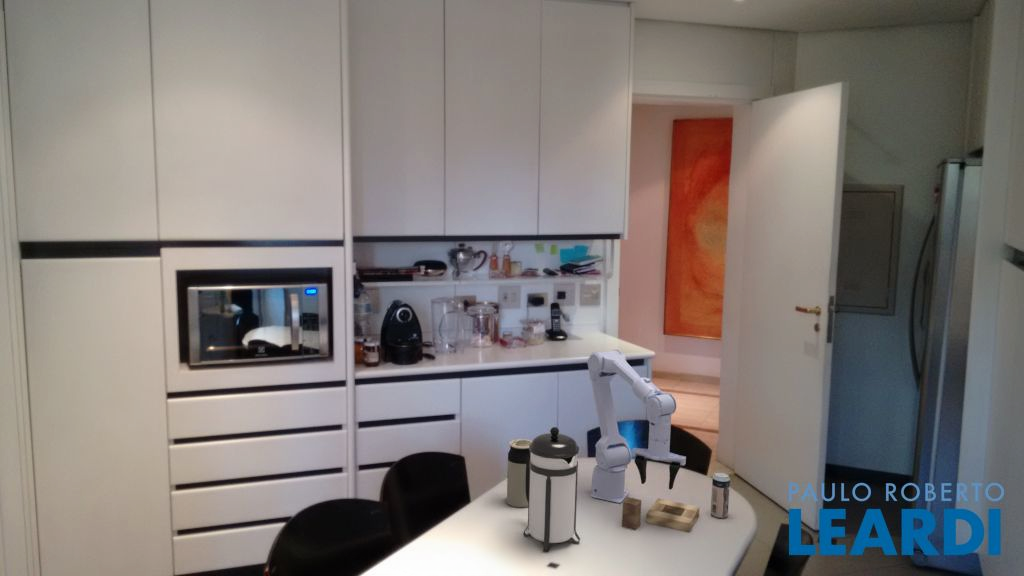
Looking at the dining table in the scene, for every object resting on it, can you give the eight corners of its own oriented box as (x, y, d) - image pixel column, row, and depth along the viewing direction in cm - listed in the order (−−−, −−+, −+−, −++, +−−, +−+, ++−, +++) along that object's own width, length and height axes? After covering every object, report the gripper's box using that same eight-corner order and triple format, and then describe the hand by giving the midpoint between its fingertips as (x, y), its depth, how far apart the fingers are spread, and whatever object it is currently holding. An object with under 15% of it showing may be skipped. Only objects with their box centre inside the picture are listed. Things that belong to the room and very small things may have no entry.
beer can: (728, 519, 191) (731, 478, 190) (711, 518, 192) (713, 477, 190) (726, 512, 195) (729, 472, 194) (709, 511, 196) (711, 470, 195)
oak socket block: (645, 522, 188) (646, 513, 188) (657, 506, 199) (657, 498, 198) (689, 532, 183) (689, 523, 182) (699, 515, 193) (699, 507, 193)
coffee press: (586, 530, 182) (590, 421, 179) (572, 557, 167) (576, 439, 164) (525, 519, 188) (528, 414, 185) (506, 545, 173) (508, 430, 170)
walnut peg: (621, 526, 185) (622, 502, 184) (626, 521, 189) (627, 496, 188) (635, 530, 183) (637, 505, 183) (640, 524, 187) (641, 499, 186)
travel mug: (538, 500, 201) (539, 441, 199) (527, 510, 194) (528, 449, 192) (513, 495, 204) (515, 437, 203) (502, 504, 197) (503, 444, 195)
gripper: (629, 437, 186) (627, 485, 187) (682, 446, 180) (680, 495, 181) (636, 430, 192) (634, 476, 194) (688, 438, 186) (685, 486, 187)
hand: (657, 485), depth 188 cm, fingers open, 7 cm apart
